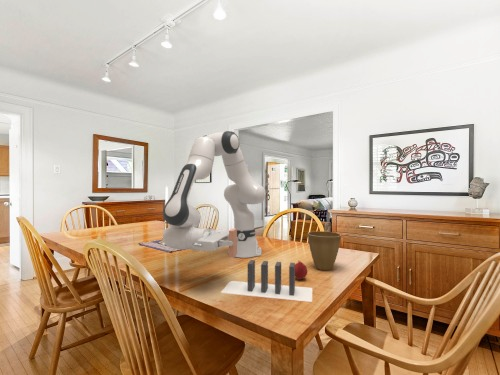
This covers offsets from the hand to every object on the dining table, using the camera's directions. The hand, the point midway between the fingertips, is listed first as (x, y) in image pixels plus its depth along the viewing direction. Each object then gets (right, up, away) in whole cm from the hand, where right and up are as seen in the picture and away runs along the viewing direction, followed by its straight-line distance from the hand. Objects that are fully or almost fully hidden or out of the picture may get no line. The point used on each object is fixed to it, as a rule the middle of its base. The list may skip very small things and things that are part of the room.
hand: (235, 241), depth 102 cm
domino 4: (+21, -17, -7) cm, 28 cm away
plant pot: (+40, -17, +21) cm, 48 cm away
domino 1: (+6, -17, -3) cm, 18 cm away
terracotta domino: (-1, -5, 0) cm, 6 cm away
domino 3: (+16, -17, -6) cm, 24 cm away
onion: (+26, -17, +6) cm, 32 cm away
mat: (+12, -17, -5) cm, 21 cm away
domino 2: (+11, -17, -4) cm, 21 cm away
